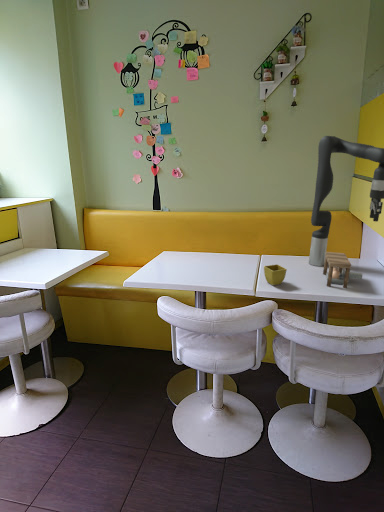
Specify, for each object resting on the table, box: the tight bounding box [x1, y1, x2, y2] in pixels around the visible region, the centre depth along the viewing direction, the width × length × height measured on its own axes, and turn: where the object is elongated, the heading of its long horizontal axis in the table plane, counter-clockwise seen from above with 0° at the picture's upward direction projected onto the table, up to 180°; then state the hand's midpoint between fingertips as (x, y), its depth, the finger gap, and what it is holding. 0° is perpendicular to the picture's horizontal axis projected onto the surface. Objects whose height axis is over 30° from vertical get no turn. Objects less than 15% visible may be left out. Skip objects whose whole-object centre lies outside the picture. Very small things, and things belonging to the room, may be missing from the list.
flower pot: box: [263, 264, 288, 286], centre depth 181 cm, size 9×9×9 cm
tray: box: [325, 267, 363, 286], centre depth 185 cm, size 10×17×6 cm, turn 76°
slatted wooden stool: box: [322, 251, 352, 289], centre depth 185 cm, size 20×10×13 cm, turn 166°
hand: (373, 219), depth 182 cm, fingers open, 8 cm apart
